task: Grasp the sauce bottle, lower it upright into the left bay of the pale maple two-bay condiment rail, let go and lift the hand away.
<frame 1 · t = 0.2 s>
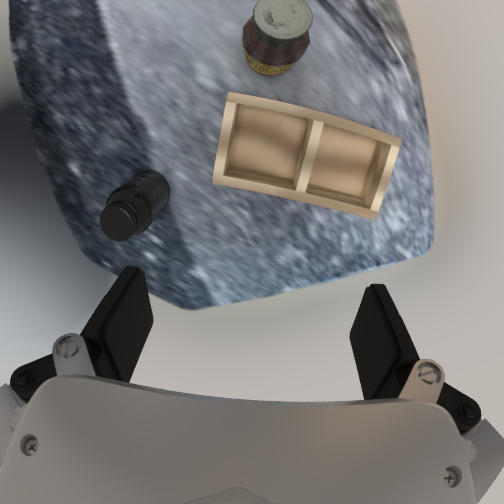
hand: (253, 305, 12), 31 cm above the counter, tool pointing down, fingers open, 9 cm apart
sauce bottle: (271, 55, 31), on the counter
supplement bottle: (150, 190, 42), on the counter
condiment rail: (303, 148, 37), on the counter
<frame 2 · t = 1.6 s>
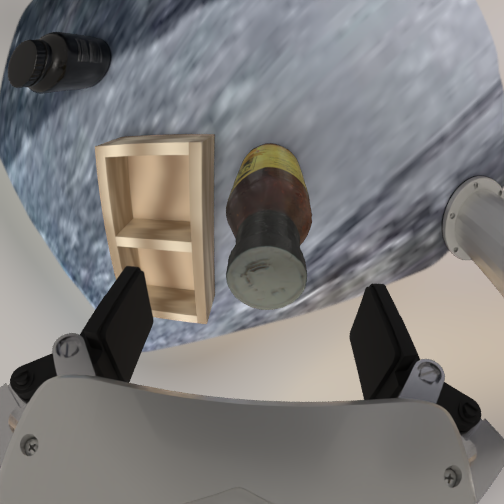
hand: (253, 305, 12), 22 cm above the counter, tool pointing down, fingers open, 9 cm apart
sauce bottle: (270, 170, 31), on the counter
supplement bottle: (90, 63, 25), on the counter
condiment rail: (169, 221, 35), on the counter
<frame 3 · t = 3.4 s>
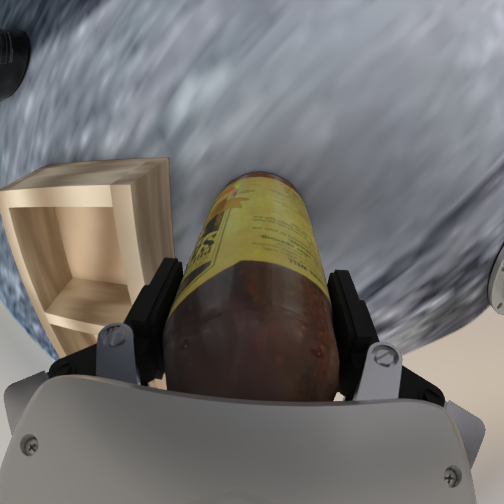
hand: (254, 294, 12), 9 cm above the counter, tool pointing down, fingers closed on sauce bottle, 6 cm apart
sauce bottle: (260, 213, 20), on the counter, touching gripper
supplement bottle: (9, 64, 13), on the counter
condiment rail: (118, 282, 23), on the counter
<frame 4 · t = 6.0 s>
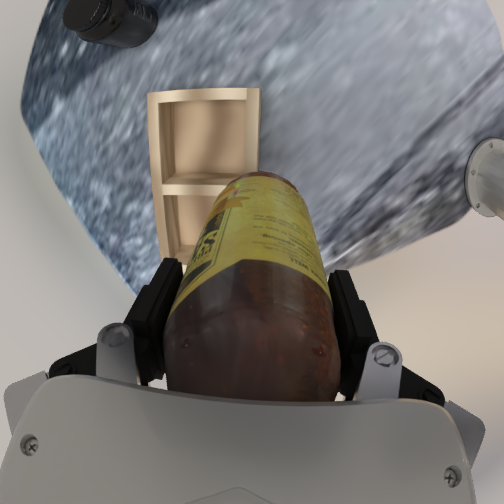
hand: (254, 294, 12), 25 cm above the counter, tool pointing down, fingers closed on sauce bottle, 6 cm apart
sauce bottle: (260, 213, 20), point 16 cm above the counter, touching gripper
supplement bottle: (134, 26, 25), on the counter
condiment rail: (212, 175, 35), on the counter
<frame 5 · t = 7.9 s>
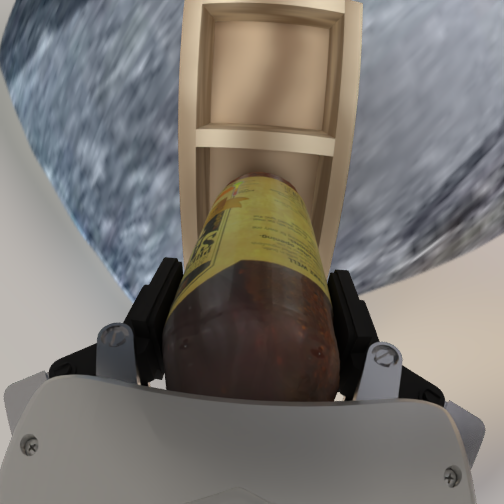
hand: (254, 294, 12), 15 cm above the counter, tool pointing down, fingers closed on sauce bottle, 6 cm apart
sauce bottle: (259, 213, 20), point 6 cm above the counter, touching gripper
condiment rail: (265, 130, 23), on the counter
when the fingers open (11 cm above the counter, at t = 9.1 s): sauce bottle drops 1 cm, resting on condiment rail.
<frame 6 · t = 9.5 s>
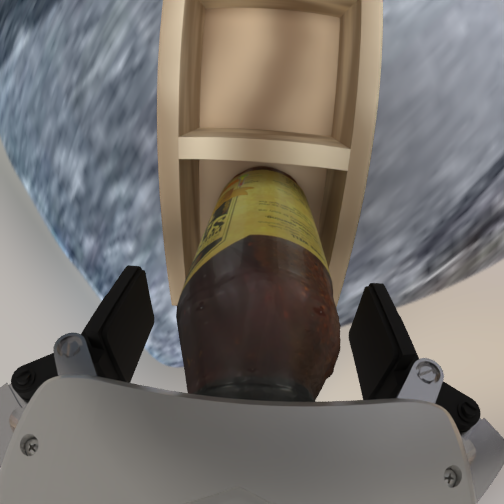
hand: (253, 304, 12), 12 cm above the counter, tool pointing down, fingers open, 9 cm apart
sauce bottle: (263, 206, 21), point 1 cm above the counter, touching condiment rail
condiment rail: (265, 136, 19), on the counter
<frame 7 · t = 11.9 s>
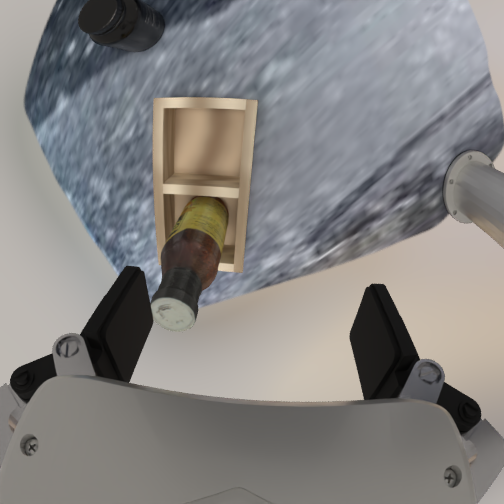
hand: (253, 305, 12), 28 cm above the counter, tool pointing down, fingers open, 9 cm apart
sauce bottle: (207, 213, 39), point 1 cm above the counter, touching condiment rail
supplement bottle: (141, 30, 27), on the counter
condiment rail: (208, 176, 38), on the counter
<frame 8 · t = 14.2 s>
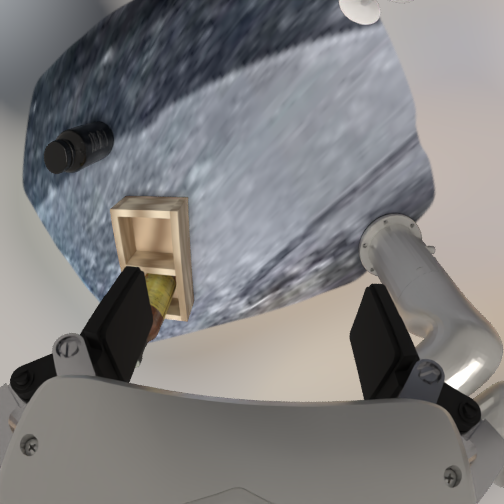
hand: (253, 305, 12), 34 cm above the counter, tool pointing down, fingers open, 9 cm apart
champagne flute: (359, 6, 28), on the counter
sauce bottle: (163, 277, 53), point 1 cm above the counter, touching condiment rail
supplement bottle: (98, 140, 41), on the counter
condiment rail: (160, 252, 51), on the counter
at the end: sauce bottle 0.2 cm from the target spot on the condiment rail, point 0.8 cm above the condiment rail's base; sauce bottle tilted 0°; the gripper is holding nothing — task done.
